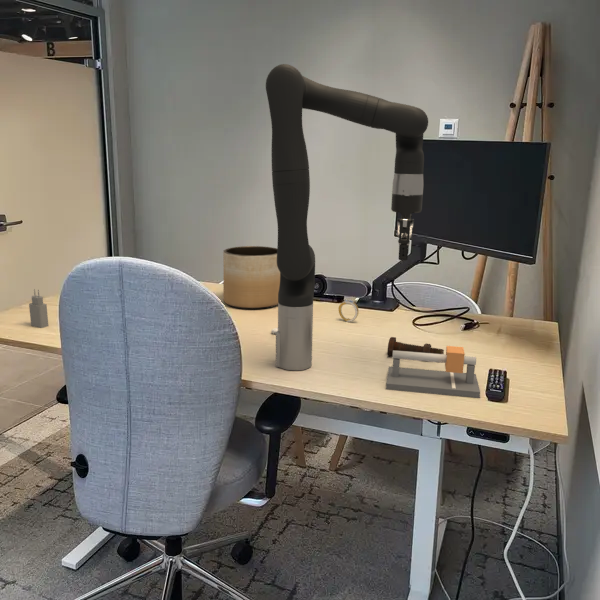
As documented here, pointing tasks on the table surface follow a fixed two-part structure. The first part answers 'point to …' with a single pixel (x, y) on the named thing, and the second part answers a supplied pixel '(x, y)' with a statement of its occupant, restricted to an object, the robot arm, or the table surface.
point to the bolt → (410, 348)
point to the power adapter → (38, 312)
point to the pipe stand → (432, 376)
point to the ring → (350, 301)
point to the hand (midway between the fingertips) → (403, 257)
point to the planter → (251, 277)
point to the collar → (454, 359)
